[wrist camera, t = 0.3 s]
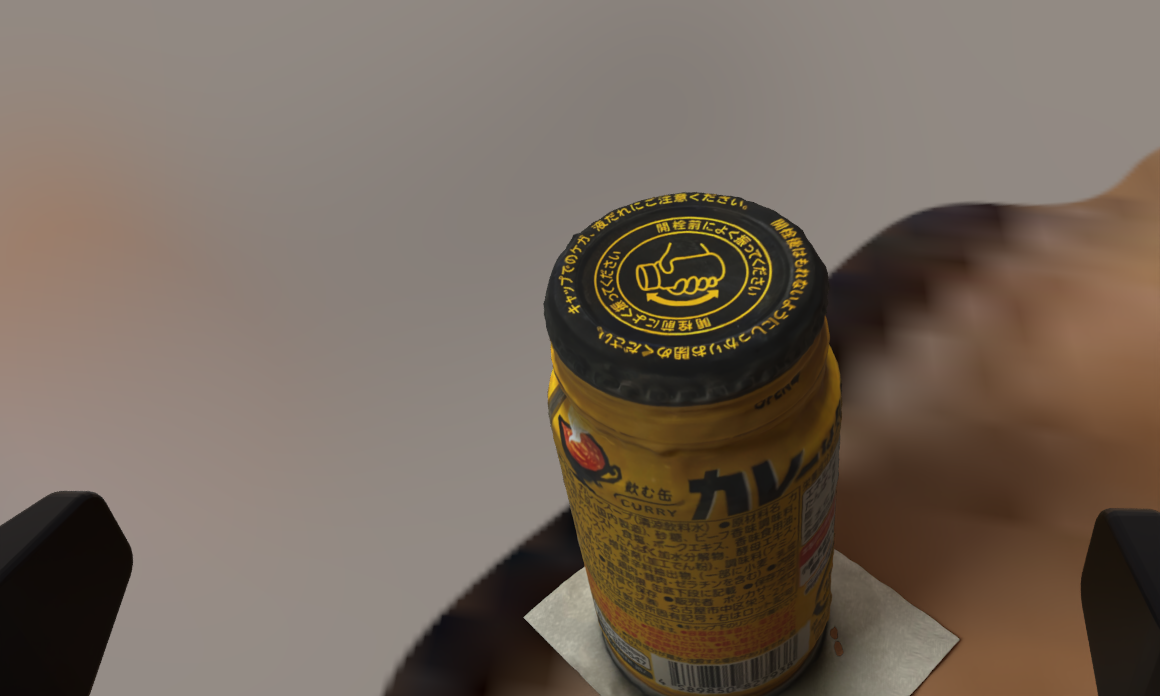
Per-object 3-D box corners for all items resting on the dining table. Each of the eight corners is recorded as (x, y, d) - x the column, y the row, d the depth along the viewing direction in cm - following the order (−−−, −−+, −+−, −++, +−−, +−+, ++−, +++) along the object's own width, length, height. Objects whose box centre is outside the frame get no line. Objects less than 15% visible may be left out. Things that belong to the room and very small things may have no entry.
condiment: (709, 461, 30) (680, 120, 22) (958, 642, 25) (1047, 291, 17) (524, 621, 27) (408, 300, 19) (764, 861, 22) (752, 570, 14)
